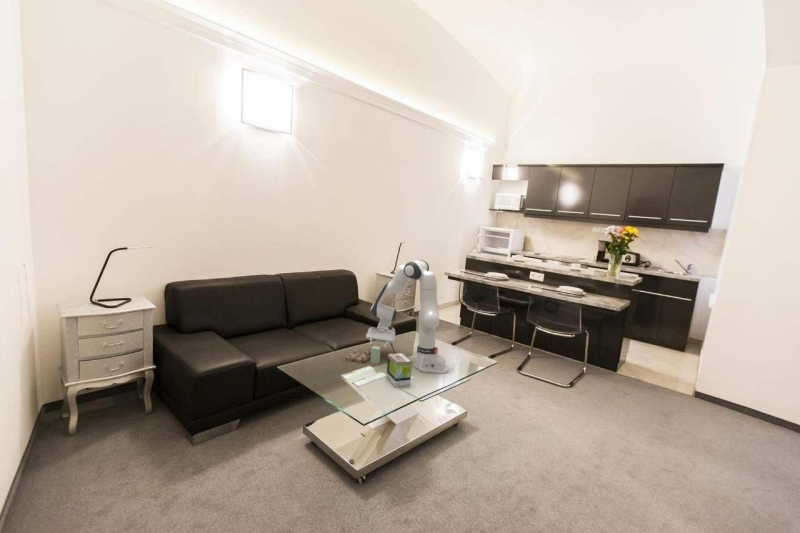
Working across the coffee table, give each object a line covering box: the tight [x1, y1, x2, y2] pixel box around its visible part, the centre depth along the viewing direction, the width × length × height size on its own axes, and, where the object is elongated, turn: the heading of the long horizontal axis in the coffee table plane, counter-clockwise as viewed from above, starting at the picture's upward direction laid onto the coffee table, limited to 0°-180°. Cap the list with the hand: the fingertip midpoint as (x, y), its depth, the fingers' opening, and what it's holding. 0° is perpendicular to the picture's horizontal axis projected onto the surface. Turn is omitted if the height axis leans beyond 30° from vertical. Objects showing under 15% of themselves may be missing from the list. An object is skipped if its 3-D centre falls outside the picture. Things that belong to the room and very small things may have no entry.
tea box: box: [386, 352, 413, 388], centre depth 214 cm, size 15×10×15 cm, turn 22°
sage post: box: [369, 345, 381, 365], centre depth 244 cm, size 5×5×10 cm
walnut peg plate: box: [344, 348, 371, 364], centre depth 247 cm, size 14×12×5 cm
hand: (377, 346), depth 247 cm, fingers open, 8 cm apart
